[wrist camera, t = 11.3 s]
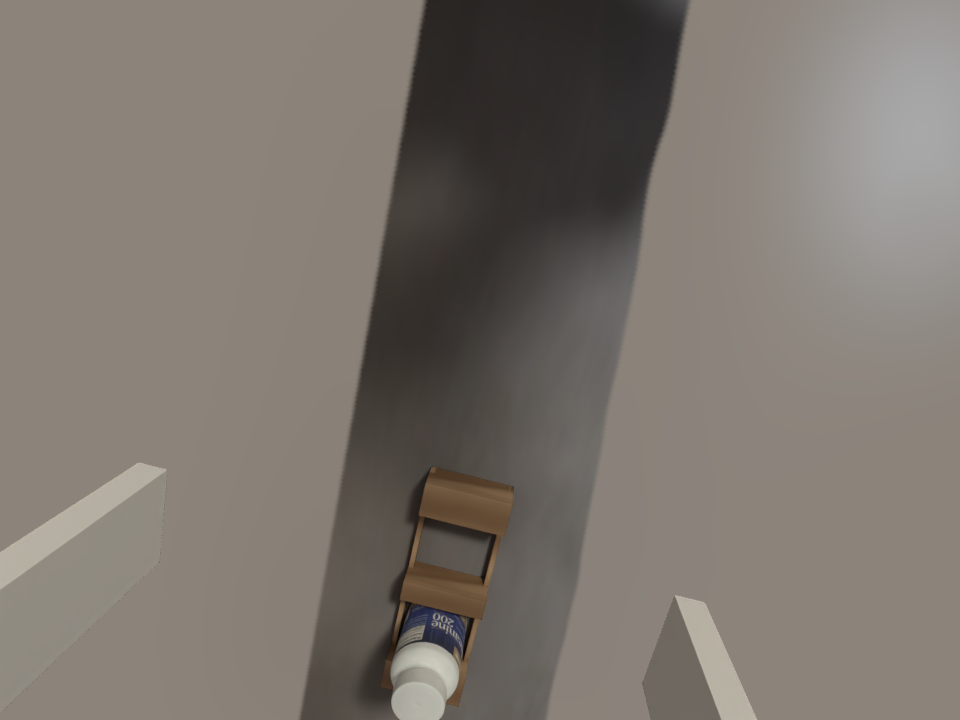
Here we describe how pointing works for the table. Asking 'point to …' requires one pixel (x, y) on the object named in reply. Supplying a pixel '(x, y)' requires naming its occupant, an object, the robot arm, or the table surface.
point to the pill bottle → (427, 662)
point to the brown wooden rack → (445, 588)
